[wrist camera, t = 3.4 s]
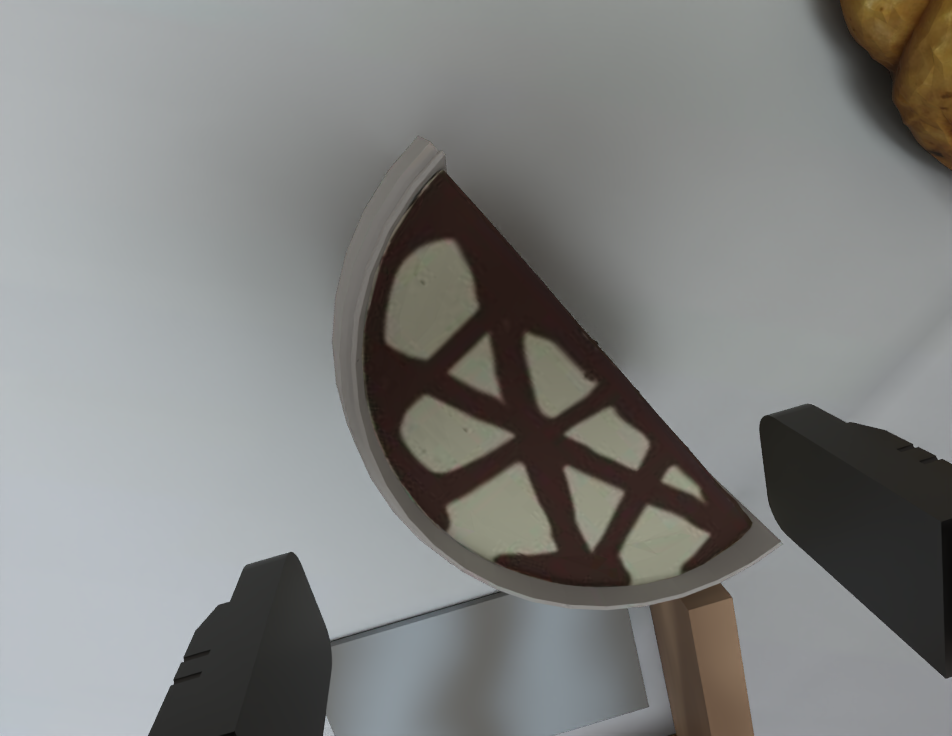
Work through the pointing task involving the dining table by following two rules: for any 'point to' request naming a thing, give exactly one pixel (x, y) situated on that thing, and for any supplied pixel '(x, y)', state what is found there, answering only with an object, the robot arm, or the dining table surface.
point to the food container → (514, 417)
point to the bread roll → (912, 62)
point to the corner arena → (537, 670)
